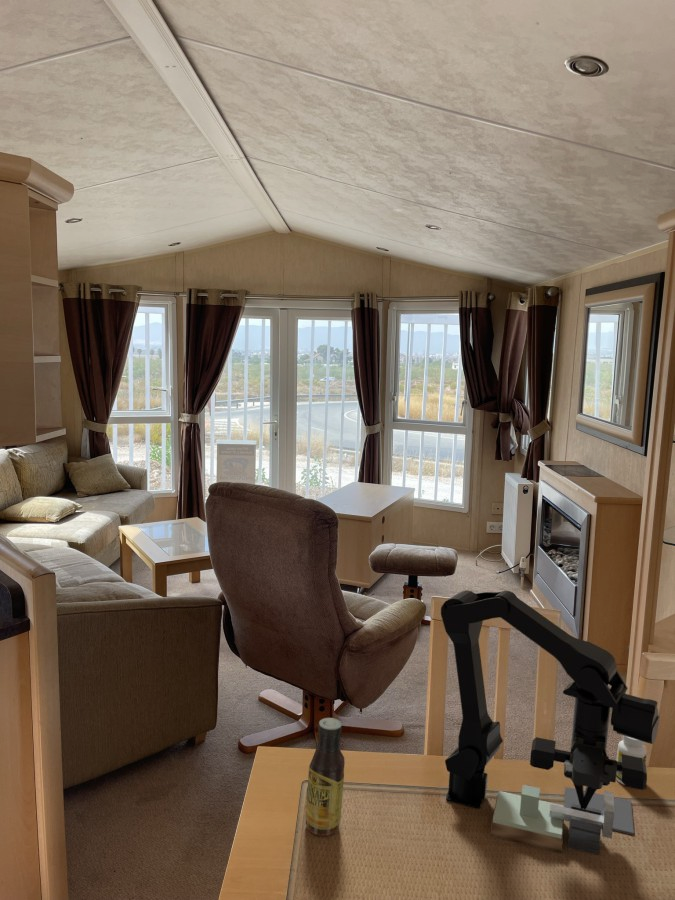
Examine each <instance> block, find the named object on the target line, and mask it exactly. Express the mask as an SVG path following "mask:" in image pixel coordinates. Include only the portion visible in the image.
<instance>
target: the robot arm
mask: <svg viewBox="0 0 675 900" xmlns="http://www.w3.org/2000/svg"><path fill="white" fill-rule="evenodd" d="M440 617H441V621H442V624H443V627H444V630H445V633H446V635H447V636H448V638H449V639H450V641H451V642H452V645H453V650H454V651H453V652H454V658H455V659H454V660H455V665H456V666H455V667H456V674H457V683H458V690H459V699H460V706H461V707H460V708H461V715H462V720H461V724H460V728H459V733H458V739H457V741H458V742H457V748H456V749H454V751H453V752H452V753H450V754H449V756H448V757H446V759H445V760H444V763H445V767H446V770H447V772H448V773H449V775H448V776H449V777H448V788H447V789H448V791H447V793H446V797H445V800H446V801H448V802H451V803H453V804H454V803H456V804H459V805H464V806H467V807H472V808H475V809H480V808H481V807H482V803H483V802H484V801H485V799H486V797H487V788H488V778H489V777H488V775H489V774H488V773H487V772H486V766H487V764H488V763H489V762H490V761H491V760H492V759H493V758H494V756H495V755H496V754H497V753H498V752H499V750H500V746H501V745H502V743H503V738H502V736H501V722H500V721H493V720H492V718H491V716H490V715H489V713H488V712H489V711H488V706H487V698H486V691H485V683H484V682H485V681H484V673H483V672H484V671H483V665H482V660H481V659H482V658H481V657H482V656H481V650H480V649H481V648H480V642H479V641H480V635H481V631H482V627H483V624H484V623H483V622H484V621H486V620H491V619H496V618H497V619H498V618H500V619H502V620H503V621H505V622H506V623H508V624H509V625H510V626H511V627H513V628H514V629H515V630H517V631H518V632H520V633H521V634H522V635H523V636H524V637H526V638H527V639H529V640H530V641H532V642H534V644H536V645H537V646H539V647H540V648H541V649H543V650H544V651H545V652H547V653H548V654H549V655H551V656H552V657H554V659H555V660H556V661H558V662H559V664H560V665H561V667H562V668H563V670H564V672H565V673H566V675H568V677H569V678H571V680H573V682H570V683H568V685H566V687H565V688H564V689H563V691H562V693H563V695H565V696H569V697H572V698H574V708H573V710H574V711H573V720H572V730H571V744H570V751H568V750H563V749H558V748H556V743H557V742H556V740H552V739H547V738H543V737H537V736H536V737H535V738H533V739H532V742H531V749H530V757H529V759H530V760H529V766H531V767H533V768H538V769H541V770H546V771H549V770H551V769H552V768H554V765H555V763H554V761H555V762H559V763H563V775H564V777H565V778H568V779H570V780H571V782H572V783H573V787H574V788H575V789H576V792H577V796H578V800H579V804H580V808H581V809H586V808H587V806H588V804H589V802H590V800H591V798H592V796H593V795H594V793H596V791H597V790H601V789H603V786H605V787H606V786H609V785H611V783H616V781H617V779H616V774H621V775H622V777H621V781H622V782H623V783H624V786H625V787H627V788H632V789H636V790H641V791H644V790H646V789H647V782H648V771H647V765H646V763H645V761H644V760H643V759H642V758H639V757H634V756H629V755H624V754H621V758H620V762H618V761H616V759H610V758H609V756H608V753H607V747H608V746H607V745H608V736H609V725H611V726H612V731H613V732H616V734H617V735H621V736H623V735H624V736H627V737H630V738H634V739H637V740H640V741H643V742H644V743H647V744H651V745H654V744H655V742H656V739H657V734H658V729H659V723H660V716H659V709H658V705H659V704H658V703H659V702H658V701H657V700H654V699H650V698H642V697H639V696H635V695H632V694H629V693H628V694H627V691H628V686H627V685H626V682H625V681H624V679H623V678H622V676H621V674H620V672H619V671H618V668H617V662H616V658H615V657H614V656H613V654H612V653H611V652H610V651H608V650H606V649H604V648H602V647H600V646H598V645H596V644H594V643H593V642H590V641H588V640H583V639H579V638H577V637H574V636H572V635H571V634H569V633H568V632H567V631H565V630H564V629H562V628H560V627H559V626H558V625H556V624H555V623H554V622H553V621H551V620H549V619H548V618H547V617H545V616H544V615H543V614H541V613H540V612H539V611H537V610H535V609H534V608H532V607H531V605H528V604H527V603H526V602H524V601H523V600H522V599H520V598H519V597H518V596H517V595H516V593H514V592H512V591H511V590H501V591H483V592H478V593H477V592H476V593H475V592H473V591H472V590H467V589H465V590H461V591H459V592H458V593H456V594H455V595H453V596H452V597H450V598H449V599H447V600H446V601H444V603H443V604H442V605H441V607H440ZM609 685H610V688H609V687H608V686H609ZM611 709H612V710H611ZM610 713H611V714H610ZM609 723H610V724H609ZM584 787H585V790H584ZM584 791H585V794H584Z"/></svg>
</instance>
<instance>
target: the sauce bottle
mask: <svg viewBox="0 0 675 900" xmlns="http://www.w3.org/2000/svg"><path fill="white" fill-rule="evenodd" d="M317 731H318V742H317V746H316V748H315V751H314V754H313V756H312V759H311V761H310V763H309V765H308V766H309V767H308V777H307V789H306V790H307V791H306V805H305V815H304V816H305V825H306V829H307V830H308V831H309V832H310V833H311V834H313V835H316V836H319V837H320V836H321V837H327V836H331V835H333V834H335V833H337V831H339V827H340V824H341V818H342V807H343V806H342V805H343V795H344V794H343V792H344V782H345V781H344V780H345V763H346V762H345V761H346V760H345V755H343V752H342V751H341V748H340V747H341V743H340V741H341V734H342V731H343V724H342V722H341V721H340V720H339V719H336V718H334V717H324V718H322V719H320V720H319V721H318V728H317Z"/></svg>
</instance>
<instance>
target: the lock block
mask: <svg viewBox="0 0 675 900" xmlns="http://www.w3.org/2000/svg"><path fill="white" fill-rule="evenodd" d="M571 809H575V810H579V811H583V812H588V813H592V814H597V815H601V810H597V809H592V808H588V807H587V808H586V809H581V808H580V806H579V805H575V804H571ZM568 823H569V824H568V836H567V837H568V839H567V840H568V841H567V848H569V849H573V850H576V851H580V852H585V853H589V854H594V855H597V856H599V852H600V844H601V837H602V829H601V823H600V822H596V821H592V820H587V819H583V818H579V817H574V816H571V819H570V822H569V821H568Z"/></svg>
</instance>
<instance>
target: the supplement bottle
mask: <svg viewBox="0 0 675 900" xmlns="http://www.w3.org/2000/svg"><path fill="white" fill-rule="evenodd" d="M647 753H648V751H647V747H646V746H645V742H643V741H640V740H637V739H634V738H630V737H627V736H624V735H622V740H620V741H619V742H618V745H617V752H616V759H615V760H616V761H618V762H620V758H621V754H624V755H629V756H634V757H639V758H642V759H643V760H644V761H645V763H646V762H647V755H648V754H647ZM621 777H622V775H621V774H616V781H617V782H619V783H620V784H622V785H624V783H623V782H622V781H621ZM624 786H625V785H624Z"/></svg>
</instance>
